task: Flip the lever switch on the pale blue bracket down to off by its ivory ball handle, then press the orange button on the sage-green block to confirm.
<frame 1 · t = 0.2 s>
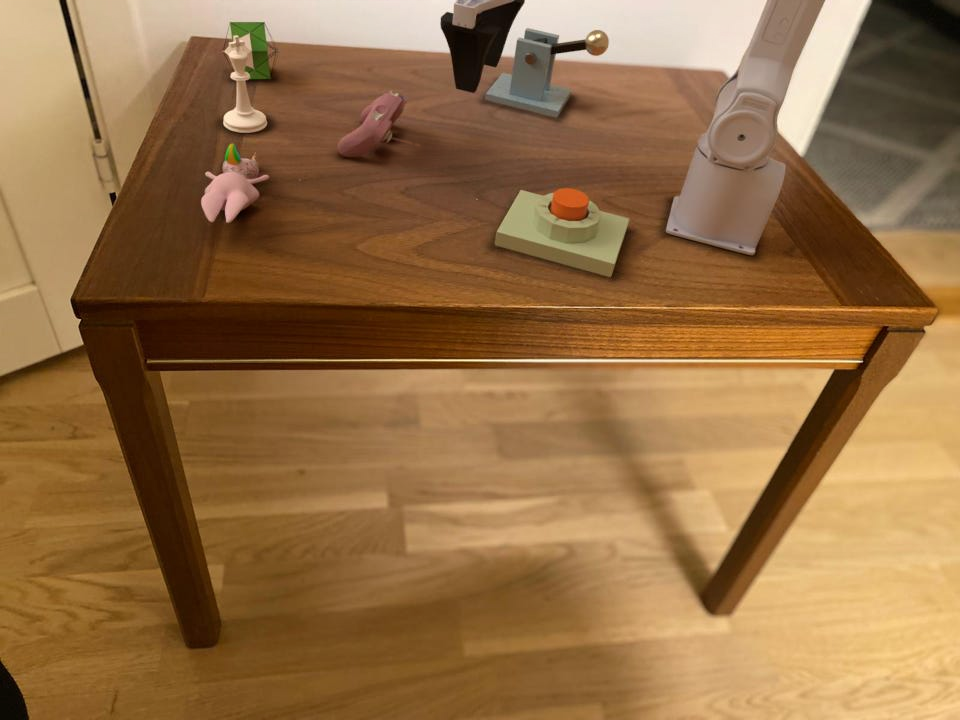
hand: (477, 76, 79), 10 cm above the table, tool pointing down, fingers open, 7 cm apart
rabbit figure: (235, 206, 75), on the table
geometric puzzle: (253, 77, 97), on the table
switch lever: (566, 47, 95), point 8 cm above the table, hinge at 20.0°
button block: (562, 238, 77), on the table
chess piece: (245, 124, 87), on the table
button: (569, 205, 74), point 4 cm above the table, slide at 0.1 cm
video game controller: (374, 145, 87), on the table
switch bracket: (528, 99, 101), on the table
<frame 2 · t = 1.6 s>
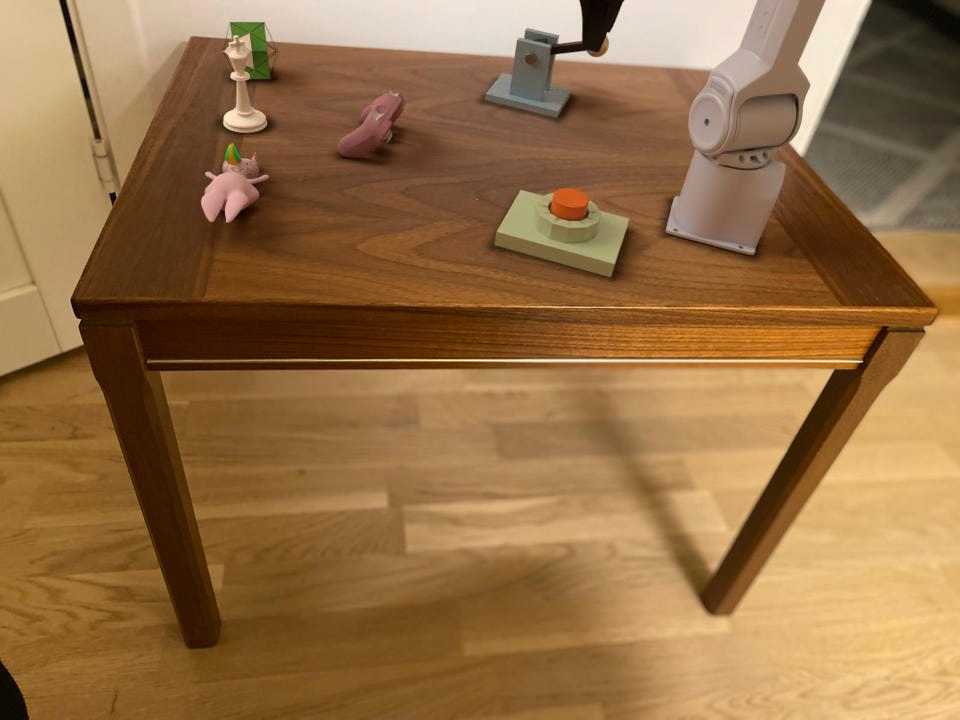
hand: (596, 39, 93), 10 cm above the table, tool pointing down, fingers open, 7 cm apart
switch lever: (566, 47, 95), point 8 cm above the table, hinge at 18.8°
everything else where it was.
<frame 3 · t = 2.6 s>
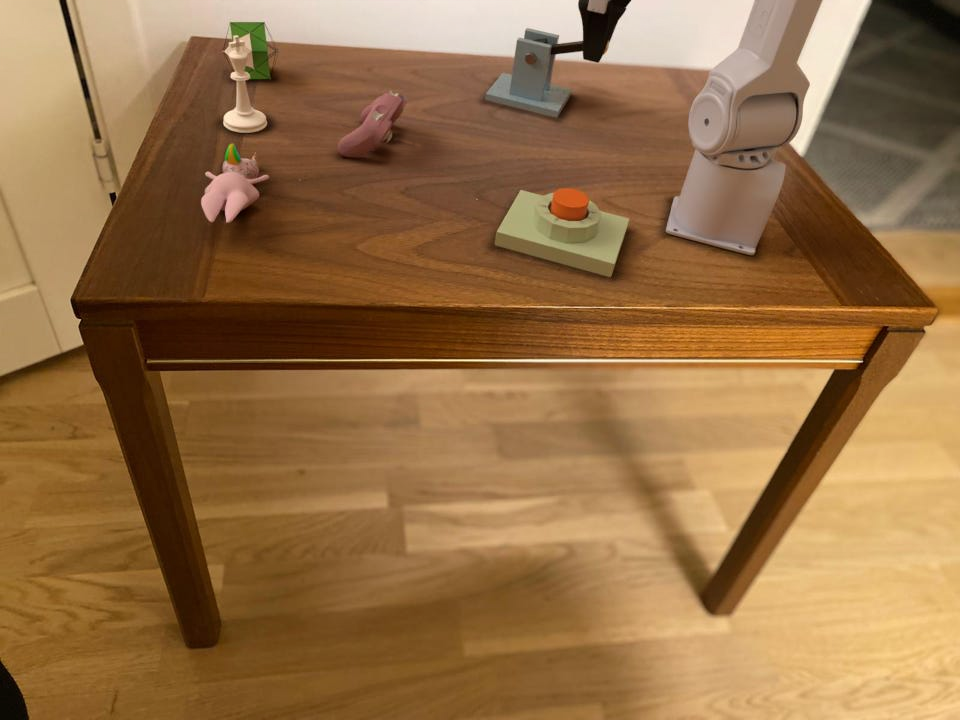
hand: (594, 55, 95), 8 cm above the table, tool pointing down, fingers closed on switch lever, 3 cm apart
switch lever: (566, 47, 95), point 8 cm above the table, hinge at 18.8°, touching gripper
everything else where it was.
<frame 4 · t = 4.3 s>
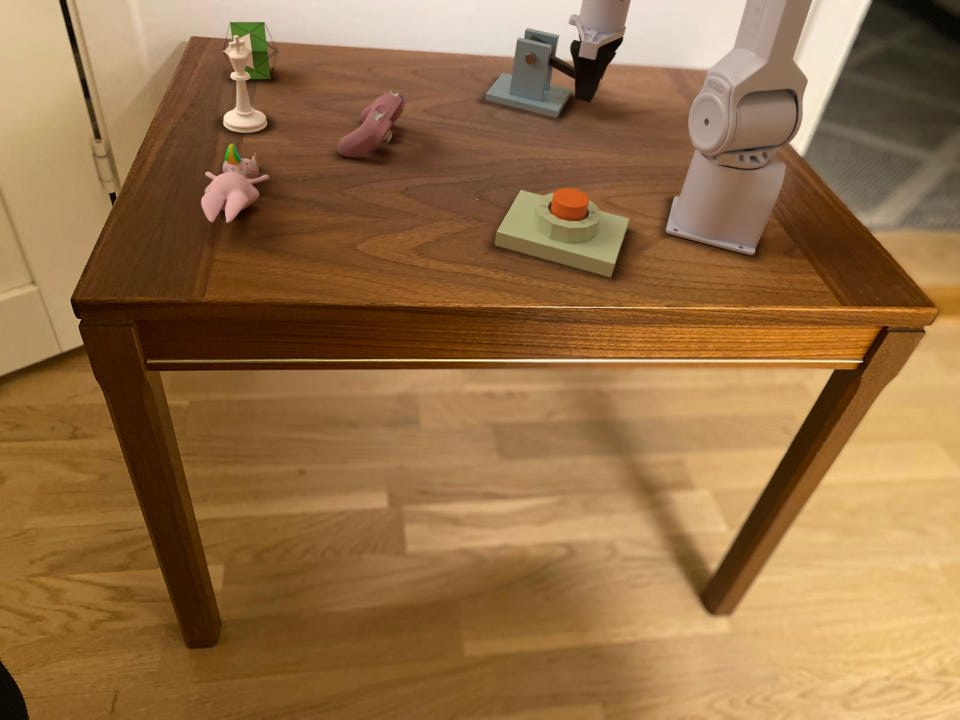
hand: (585, 95, 98), 2 cm above the table, tool pointing down, fingers closed on switch lever, 3 cm apart
switch lever: (563, 66, 97), point 5 cm above the table, hinge at -16.1°, touching gripper
everything else where it was.
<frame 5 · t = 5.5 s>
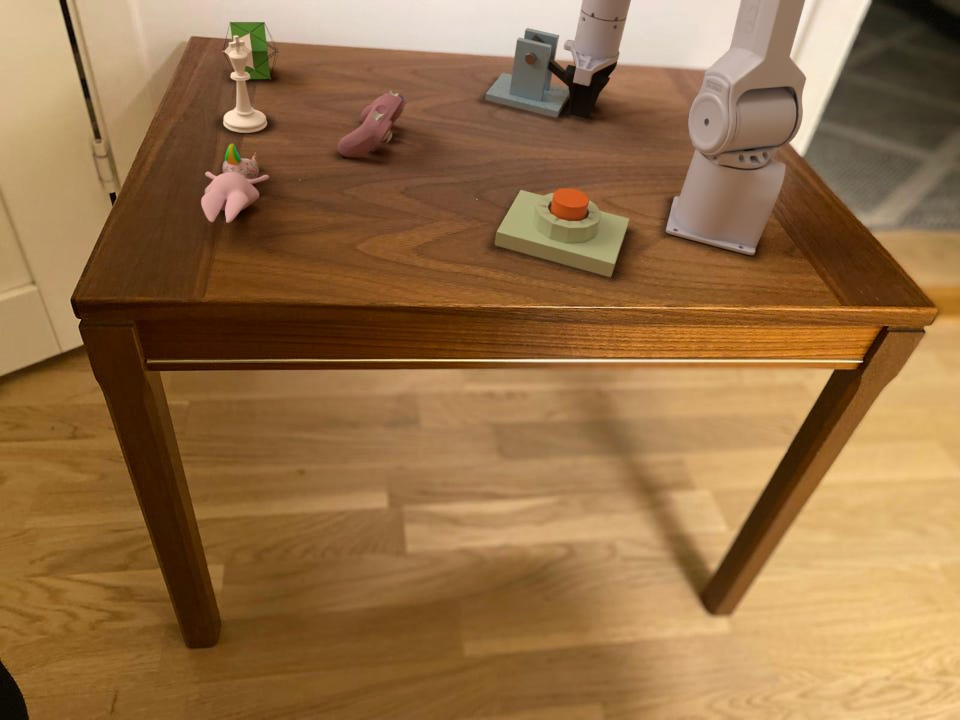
hand: (580, 117, 100), 0 cm above the table, tool pointing down, fingers closed on switch lever, 3 cm apart
switch lever: (559, 72, 97), point 5 cm above the table, hinge at -28.1°, touching gripper
everything else where it was.
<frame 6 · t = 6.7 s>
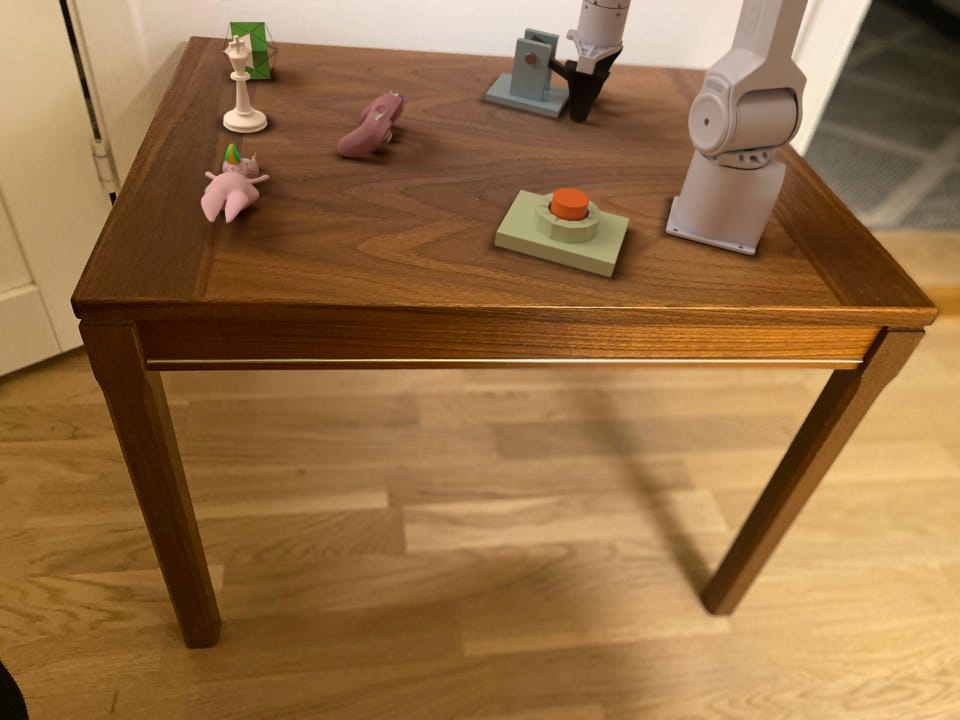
hand: (583, 108, 99), 1 cm above the table, tool pointing down, fingers open, 7 cm apart
switch lever: (561, 70, 97), point 5 cm above the table, hinge at -22.9°
everything else where it was.
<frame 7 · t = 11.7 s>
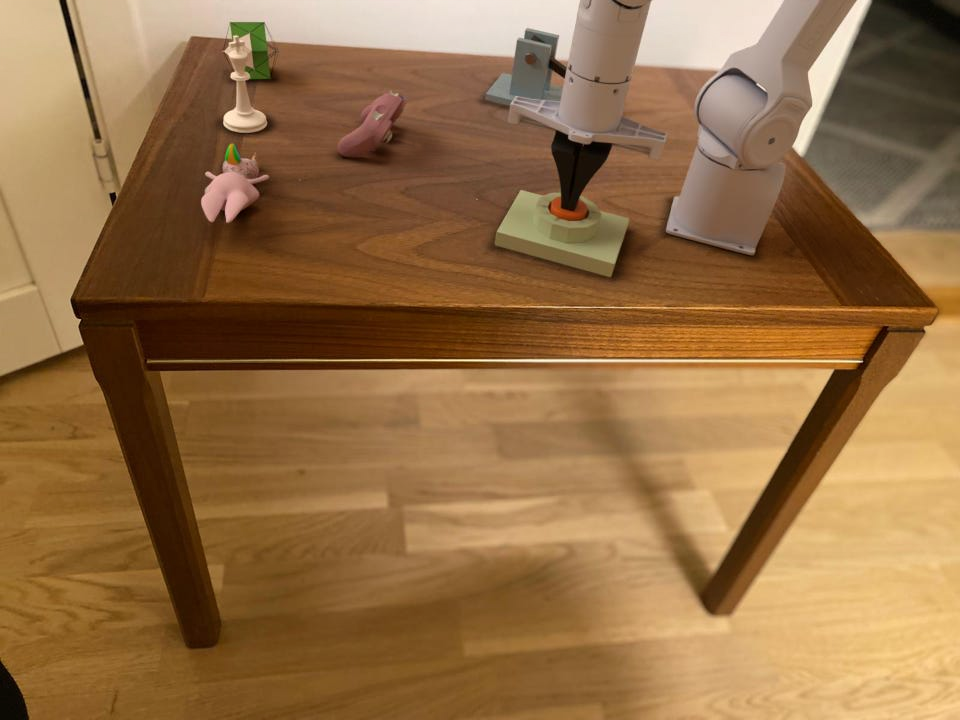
hand: (569, 205, 74), 4 cm above the table, tool pointing down, fingers closed, pressing on button
button: (567, 212, 75), point 3 cm above the table, slide at -0.8 cm, touching gripper
everything else where it was.
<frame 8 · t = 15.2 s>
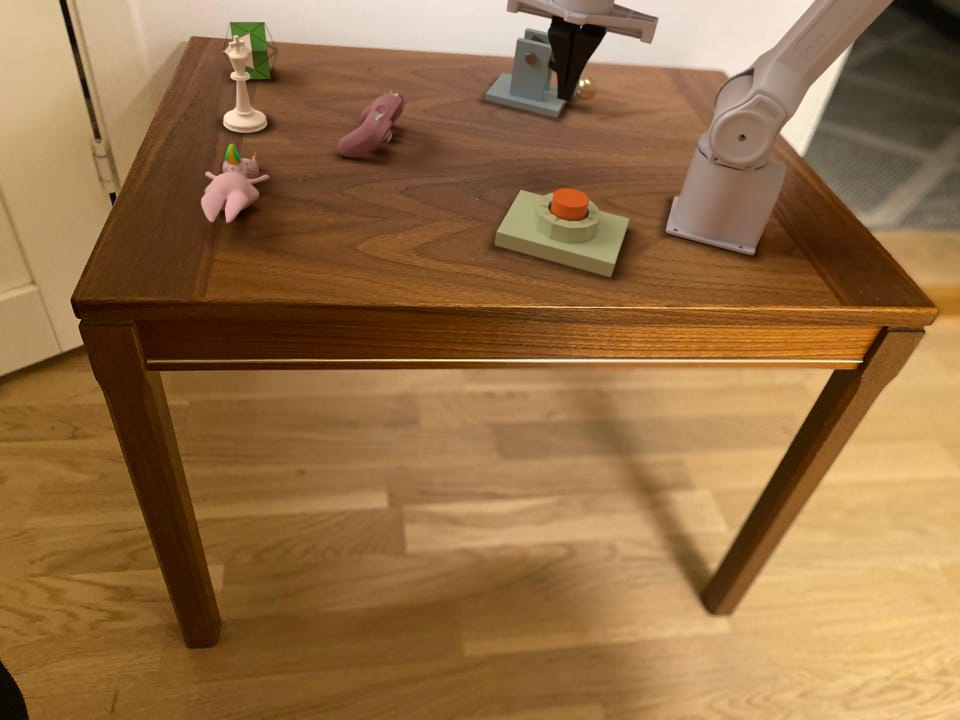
hand: (565, 96, 77), 10 cm above the table, tool pointing down, fingers closed
button: (569, 205, 74), point 4 cm above the table, slide at 0.1 cm
everything else where it was.
at the end: switch lever at -23° (first picture: +20°); button pushed in 1.2 cm at the most during the clip, back to where it started at the end; button slide at 0.1 cm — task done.
